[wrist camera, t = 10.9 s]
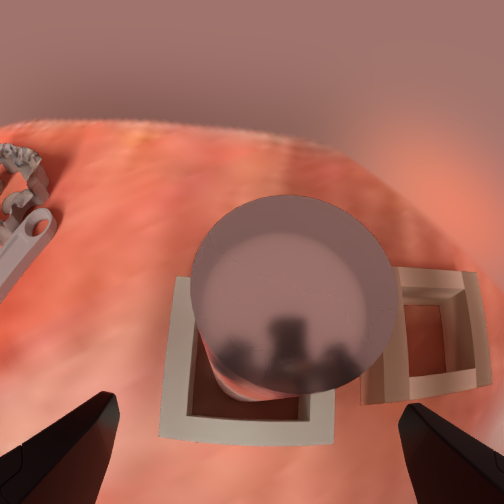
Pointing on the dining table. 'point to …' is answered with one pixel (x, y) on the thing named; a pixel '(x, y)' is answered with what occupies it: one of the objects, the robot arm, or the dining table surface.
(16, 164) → the grey jagged open ring
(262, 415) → the dining table surface
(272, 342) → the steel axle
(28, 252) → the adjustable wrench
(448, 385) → the beige square ring
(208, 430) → the square hollow frame
